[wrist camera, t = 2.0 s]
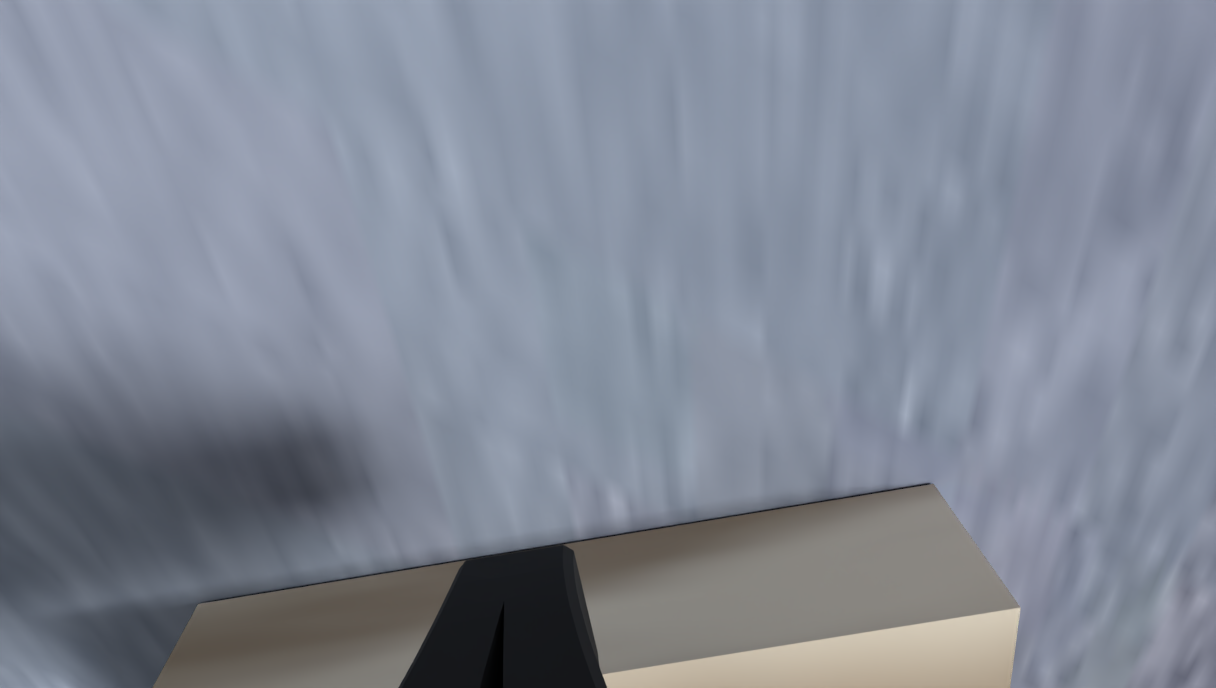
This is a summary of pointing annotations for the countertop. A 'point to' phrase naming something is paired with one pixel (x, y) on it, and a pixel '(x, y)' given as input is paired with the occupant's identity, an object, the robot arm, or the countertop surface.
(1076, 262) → the countertop surface
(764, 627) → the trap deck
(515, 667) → the robot arm
